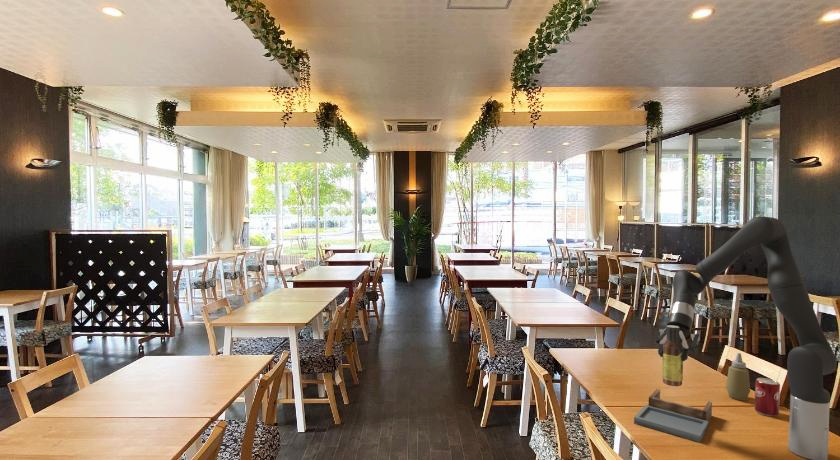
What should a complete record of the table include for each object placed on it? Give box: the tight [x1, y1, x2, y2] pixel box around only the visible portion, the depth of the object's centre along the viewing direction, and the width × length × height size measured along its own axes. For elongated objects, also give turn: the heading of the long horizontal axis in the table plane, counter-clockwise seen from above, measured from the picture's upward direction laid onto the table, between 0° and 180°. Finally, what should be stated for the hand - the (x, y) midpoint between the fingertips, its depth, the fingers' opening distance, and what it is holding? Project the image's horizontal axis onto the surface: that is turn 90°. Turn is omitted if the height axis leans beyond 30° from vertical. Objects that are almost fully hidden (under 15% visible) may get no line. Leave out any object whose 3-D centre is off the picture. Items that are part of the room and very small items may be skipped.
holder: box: [648, 389, 713, 422], centre depth 168 cm, size 18×11×5 cm, turn 49°
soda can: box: [754, 377, 781, 417], centre depth 169 cm, size 7×7×12 cm
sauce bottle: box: [661, 325, 684, 387], centre depth 157 cm, size 7×6×20 cm
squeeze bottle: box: [725, 352, 751, 401], centre depth 183 cm, size 8×8×18 cm
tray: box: [633, 404, 709, 443], centre depth 158 cm, size 20×14×2 cm
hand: (671, 357), depth 156 cm, fingers closed on sauce bottle, 6 cm apart
